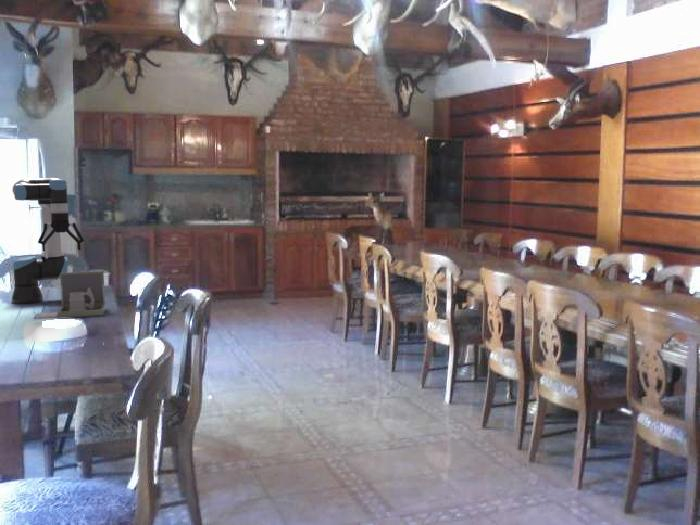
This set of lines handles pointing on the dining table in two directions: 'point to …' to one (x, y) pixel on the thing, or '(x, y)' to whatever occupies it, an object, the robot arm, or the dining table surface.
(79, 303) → the mug
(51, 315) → the trivet
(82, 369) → the dining table surface
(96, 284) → the case
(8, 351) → the dining table surface
